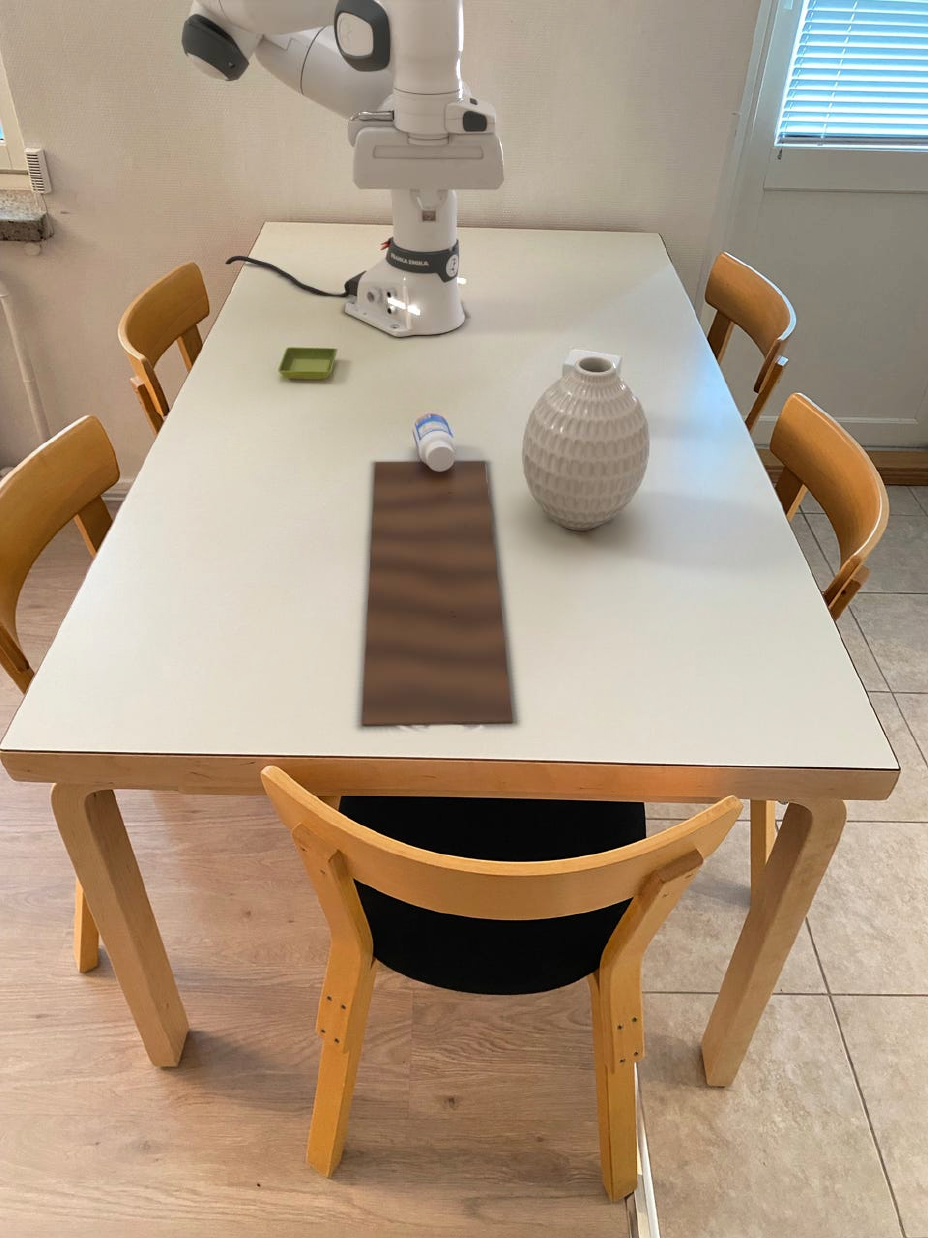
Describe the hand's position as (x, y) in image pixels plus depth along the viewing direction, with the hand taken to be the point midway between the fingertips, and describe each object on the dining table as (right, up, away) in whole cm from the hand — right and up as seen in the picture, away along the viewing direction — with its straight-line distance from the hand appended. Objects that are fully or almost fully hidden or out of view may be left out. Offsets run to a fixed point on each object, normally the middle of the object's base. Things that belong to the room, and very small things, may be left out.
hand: (428, 221), depth 133 cm
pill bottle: (0, -26, +10) cm, 28 cm away
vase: (+20, -41, -2) cm, 46 cm away
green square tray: (-21, -13, +29) cm, 38 cm away
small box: (+24, -24, +17) cm, 38 cm away
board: (+1, -49, -12) cm, 50 cm away
